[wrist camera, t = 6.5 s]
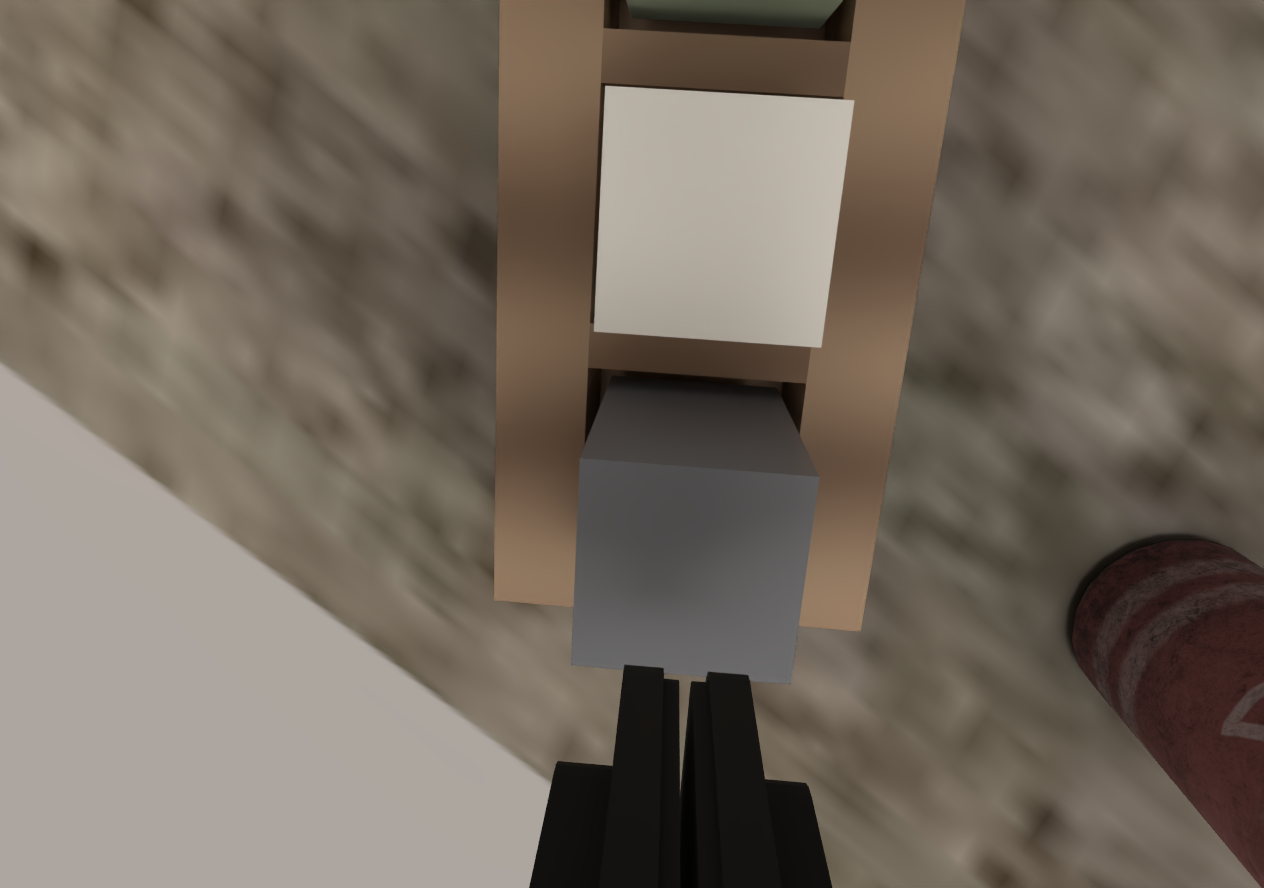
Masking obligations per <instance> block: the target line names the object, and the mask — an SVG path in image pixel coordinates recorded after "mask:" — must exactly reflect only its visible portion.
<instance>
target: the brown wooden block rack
mask: <svg viewBox="0 0 1264 888" xmlns="http://www.w3.org/2000/svg"><path fill="white" fill-rule="evenodd" d="M965 5H966V0H843V1H842V2H841V4H840V5H839V6H838V7H837V8H836V10H835V11H834V12H833V13H832V14H831V16H830V17H829V18H828V19H827V20H826V22H825V23H824V24H823V25H822V26H821V28H820V29H817V28H798V27H780V26H762V25H744V24H726V23H708V22H690V21H672V20H654V19H636V18H631V15H630V12H629V8H628V5H627V2H626V0H500V13H499V122H498V230H497V337H496V446H495V553H494V600H498V601H509V602H521V603H533V604H545V605H556V606H568V607H573V604H574V581H575V558H576V535H577V512H578V488H579V465H580V457H581V454H582V451H583V449H584V446H585V444H586V441H587V439H588V436H589V433H590V431H591V428H592V426H593V423H594V421H595V418H596V415H597V413H598V410H599V408H600V405H601V402H602V400H603V397H604V395H605V392H606V390H607V387H608V384H609V382H610V379H611V377H612V375H613V376H626V377H640V378H654V379H667V380H681V381H695V382H708V383H722V384H736V385H749V386H763V387H777V389H778V391H779V393H780V395H781V397H782V399H783V401H784V404H785V406H786V408H787V410H788V412H789V414H790V416H791V418H792V420H793V422H794V424H795V427H796V429H797V431H798V433H799V435H800V437H801V439H802V441H803V443H804V445H805V447H806V449H807V452H808V454H809V456H810V458H811V460H812V462H813V464H814V466H815V468H816V470H817V472H818V475H819V477H820V478H819V485H818V492H817V499H816V506H815V513H814V521H813V528H812V535H811V542H810V549H809V556H808V563H807V570H806V577H805V585H804V592H803V599H802V606H801V613H800V620H799V626H803V627H815V628H827V629H839V630H850V631H861V626H862V620H863V614H864V608H865V602H866V596H867V590H868V584H869V578H870V572H871V566H872V560H873V554H874V548H875V542H876V536H877V530H878V524H879V518H880V512H881V506H882V500H883V494H884V488H885V482H886V476H887V471H888V465H889V459H890V453H891V447H892V441H893V435H894V429H895V423H896V417H897V411H898V405H899V399H900V393H901V387H902V381H903V375H904V369H905V363H906V357H907V351H908V345H909V339H910V333H911V327H912V321H913V315H914V310H915V304H916V298H917V292H918V286H919V280H920V274H921V268H922V262H923V256H924V250H925V244H926V238H927V232H928V226H929V220H930V214H931V208H932V202H933V196H934V190H935V184H936V178H937V172H938V166H939V160H940V154H941V149H942V143H943V137H944V131H945V125H946V119H947V113H948V107H949V101H950V95H951V89H952V83H953V77H954V71H955V65H956V59H957V53H958V47H959V41H960V35H961V29H962V23H963V17H964V11H965ZM605 86H618V87H635V88H652V89H669V90H686V91H703V92H720V93H737V94H754V95H771V96H788V97H805V98H822V99H839V100H854V108H853V115H852V123H851V130H850V138H849V145H848V153H847V160H846V167H845V175H844V182H843V190H842V197H841V205H840V212H839V220H838V227H837V234H836V242H835V249H834V257H833V264H832V272H831V279H830V287H829V294H828V301H827V309H826V316H825V324H824V331H823V339H822V346H821V348H817V347H803V346H789V345H775V344H761V343H747V342H733V341H719V340H705V339H691V338H677V337H663V336H648V335H634V334H620V333H606V332H594V316H595V295H596V273H597V252H598V230H599V209H600V187H601V166H602V144H603V123H604V101H605Z"/></svg>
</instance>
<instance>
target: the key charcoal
mask: <svg viewBox="0 0 1264 888" xmlns="http://www.w3.org/2000/svg"><path fill="white" fill-rule="evenodd" d="M819 478H820V477H819V475H818V472H817V470H816V468H815V466H814V464H813V462H812V460H811V458H810V456H809V454H808V452H807V449H806V447H805V445H804V443H803V441H802V439H801V437H800V435H799V433H798V431H797V429H796V427H795V424H794V422H793V420H792V418H791V416H790V414H789V412H788V410H787V408H786V406H785V404H784V401H783V399H782V397H781V395H780V393H779V391H778V389H777V387H763V386H749V385H736V384H722V383H708V382H695V381H681V380H667V379H654V378H640V377H626V376H613V375H612V377H611V379H610V382H609V384H608V387H607V390H606V392H605V395H604V397H603V400H602V402H601V405H600V408H599V410H598V413H597V415H596V418H595V421H594V423H593V426H592V428H591V431H590V433H589V436H588V439H587V441H586V444H585V446H584V449H583V451H582V454H581V457H580V465H579V488H578V512H577V535H576V558H575V581H574V604H573V627H572V650H571V665H576V666H587V667H599V668H610V669H621V670H624V664H625V665H636V666H648V667H660V668H664V673H667V674H678V675H690V676H701V677H707V673H708V672H720V673H732V674H744V675H748V676H749V679H750V681H758V682H769V683H781V684H791V677H792V670H793V663H794V656H795V649H796V641H797V634H798V627H799V620H800V613H801V606H802V599H803V592H804V585H805V577H806V570H807V563H808V556H809V549H810V542H811V535H812V528H813V521H814V513H815V506H816V499H817V492H818V485H819Z"/></svg>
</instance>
